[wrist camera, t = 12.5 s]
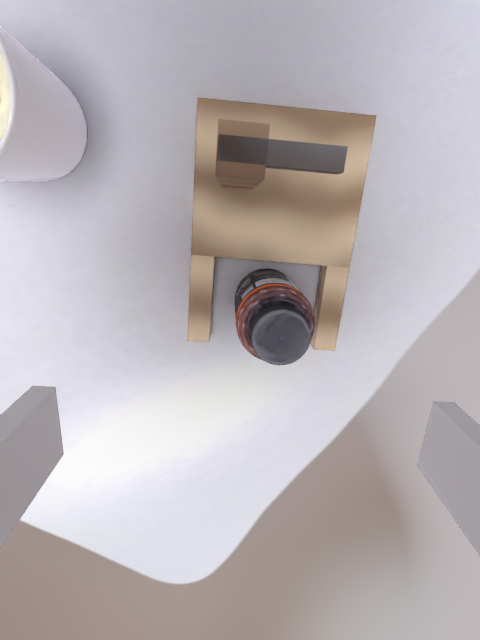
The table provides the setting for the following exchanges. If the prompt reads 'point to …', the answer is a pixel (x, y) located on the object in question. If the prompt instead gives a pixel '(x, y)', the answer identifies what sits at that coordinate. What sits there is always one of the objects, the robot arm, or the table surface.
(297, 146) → the hook post
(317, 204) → the oak forked base
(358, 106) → the table surface
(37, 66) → the candle holder
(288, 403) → the table surface
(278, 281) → the supplement bottle
